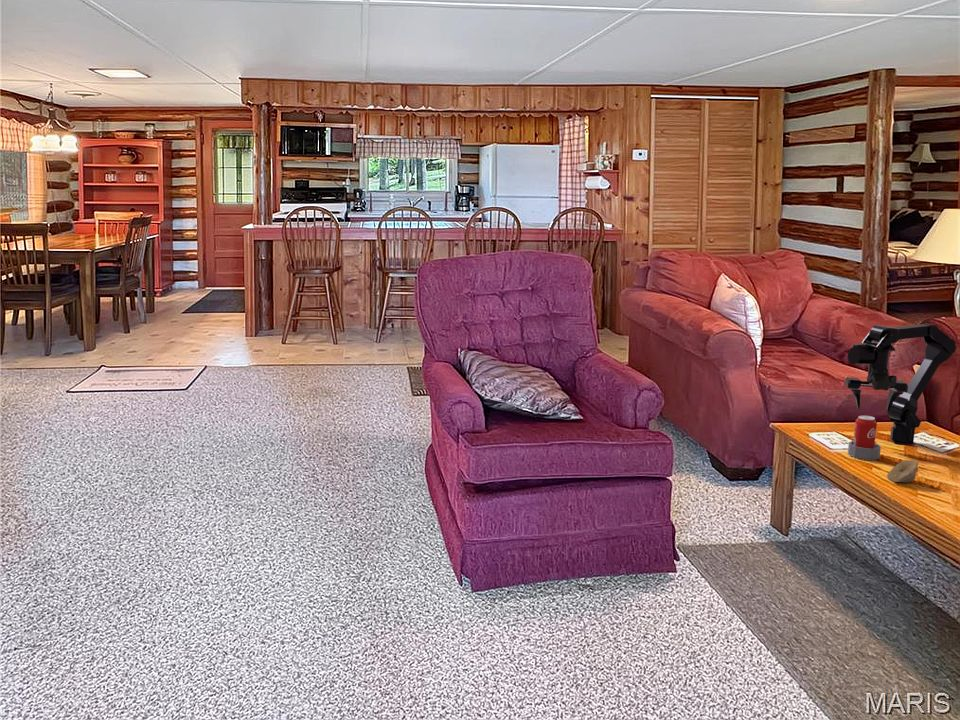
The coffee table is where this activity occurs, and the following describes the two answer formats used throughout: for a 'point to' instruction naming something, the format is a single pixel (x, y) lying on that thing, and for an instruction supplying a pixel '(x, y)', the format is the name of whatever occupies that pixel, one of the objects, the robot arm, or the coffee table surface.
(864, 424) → the beverage can
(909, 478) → the fossil
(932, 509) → the coffee table surface
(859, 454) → the can holder
